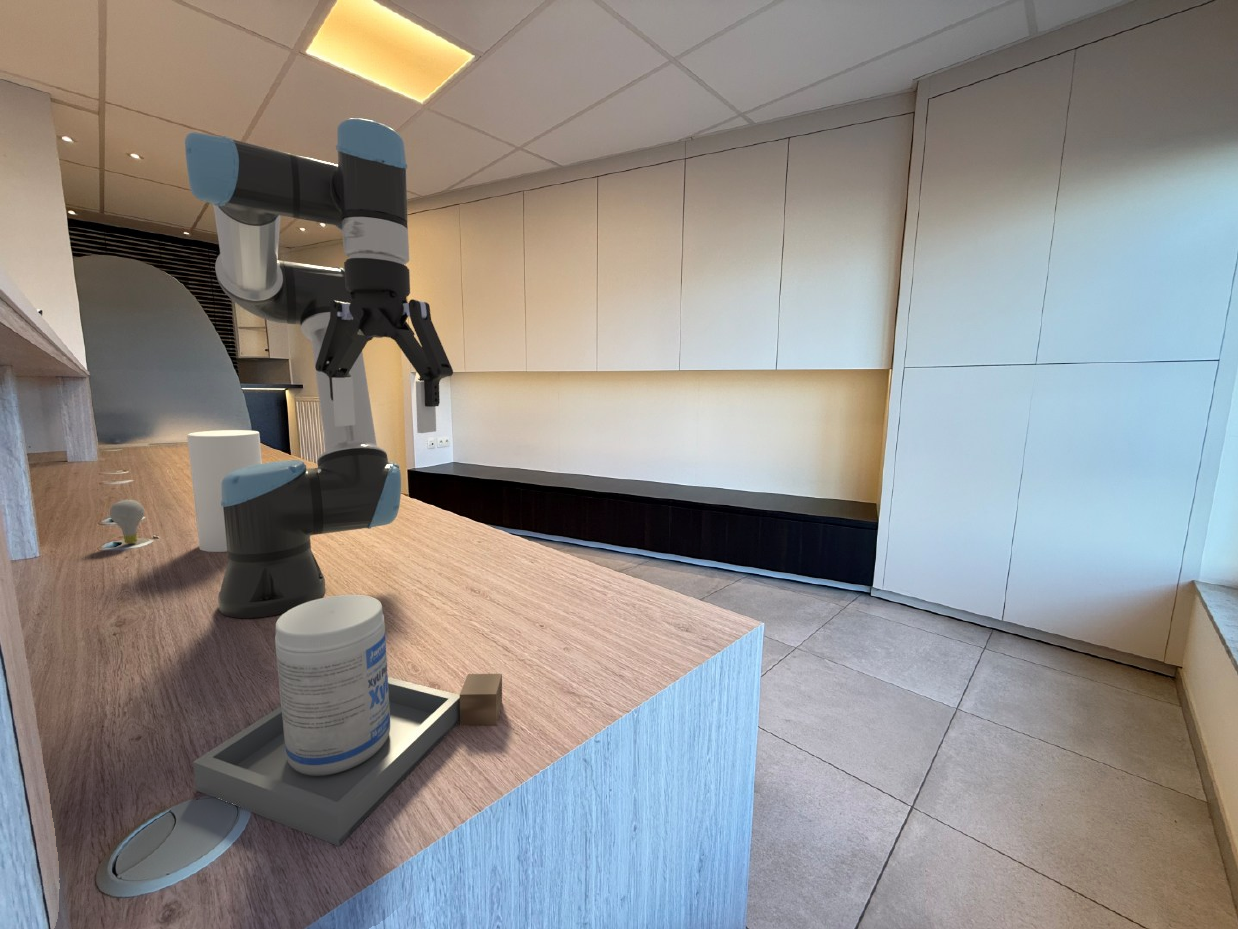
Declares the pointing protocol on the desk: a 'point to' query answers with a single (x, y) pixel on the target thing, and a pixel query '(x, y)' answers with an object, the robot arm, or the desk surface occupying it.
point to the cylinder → (217, 477)
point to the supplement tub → (333, 683)
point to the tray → (337, 801)
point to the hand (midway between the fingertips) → (384, 429)
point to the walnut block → (481, 700)
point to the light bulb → (127, 518)
